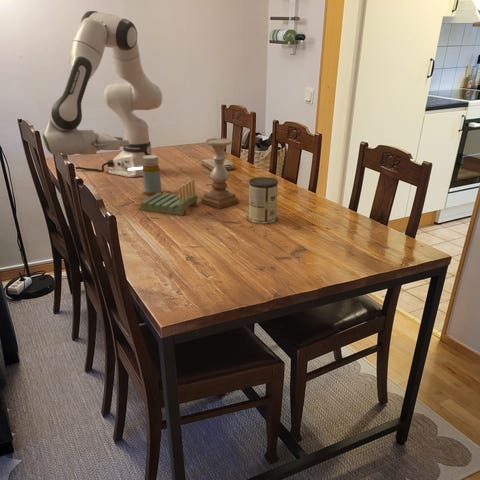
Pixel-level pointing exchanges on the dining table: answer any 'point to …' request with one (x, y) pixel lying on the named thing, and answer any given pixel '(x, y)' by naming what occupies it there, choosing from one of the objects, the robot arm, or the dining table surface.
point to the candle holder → (219, 177)
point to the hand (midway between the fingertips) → (125, 141)
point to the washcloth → (211, 164)
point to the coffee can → (262, 199)
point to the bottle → (151, 175)
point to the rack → (171, 201)
